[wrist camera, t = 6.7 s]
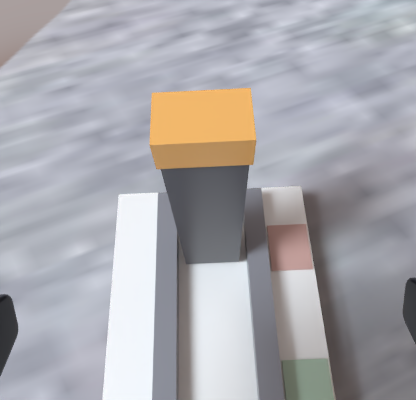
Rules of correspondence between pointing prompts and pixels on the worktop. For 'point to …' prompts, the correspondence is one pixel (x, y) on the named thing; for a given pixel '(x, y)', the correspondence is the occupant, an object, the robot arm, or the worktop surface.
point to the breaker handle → (205, 166)
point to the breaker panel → (216, 308)
